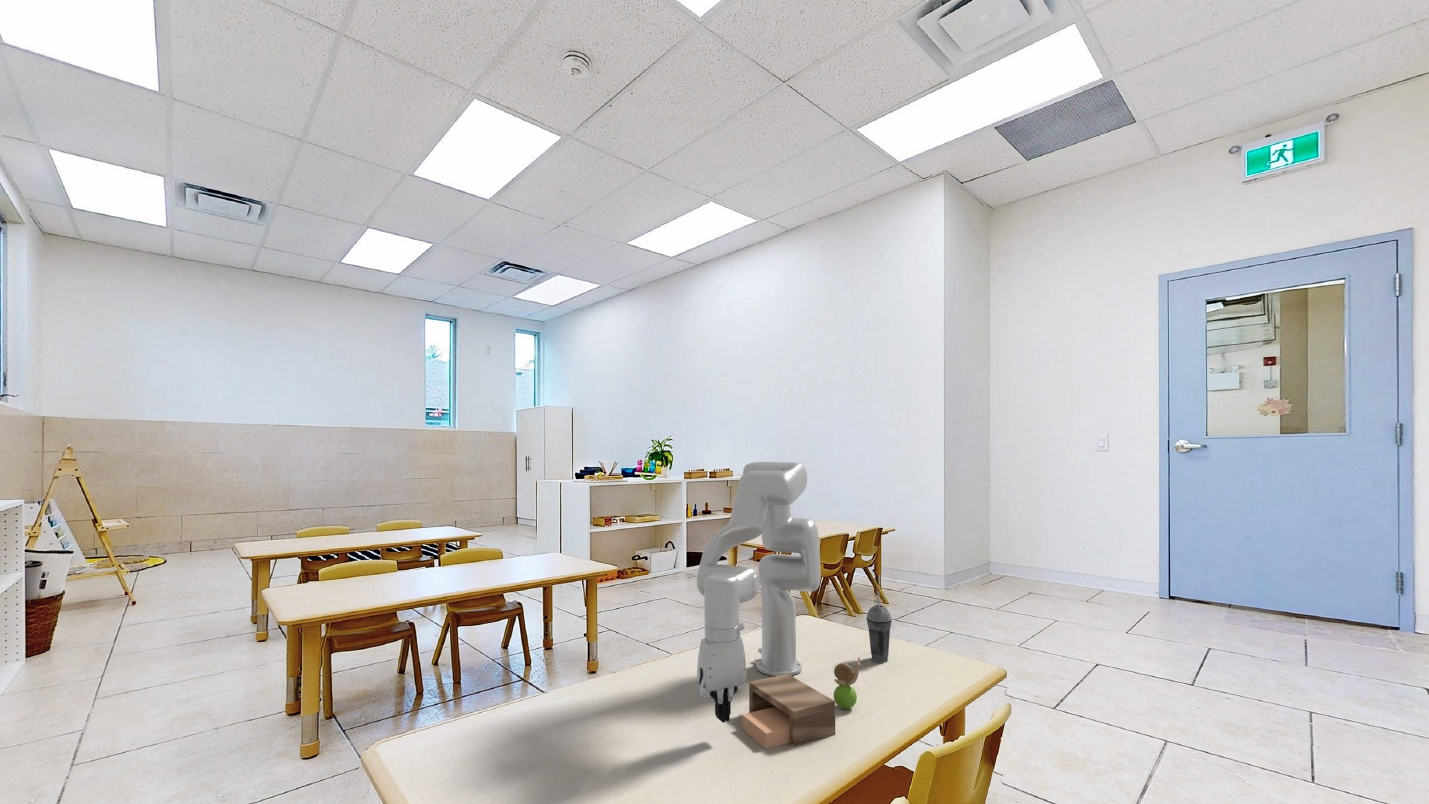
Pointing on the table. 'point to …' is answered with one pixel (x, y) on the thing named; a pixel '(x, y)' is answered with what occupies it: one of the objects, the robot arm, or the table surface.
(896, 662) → the table surface
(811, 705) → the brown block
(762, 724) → the peach tile
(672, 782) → the table surface
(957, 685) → the table surface
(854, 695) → the snail figurine
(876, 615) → the beverage cup
